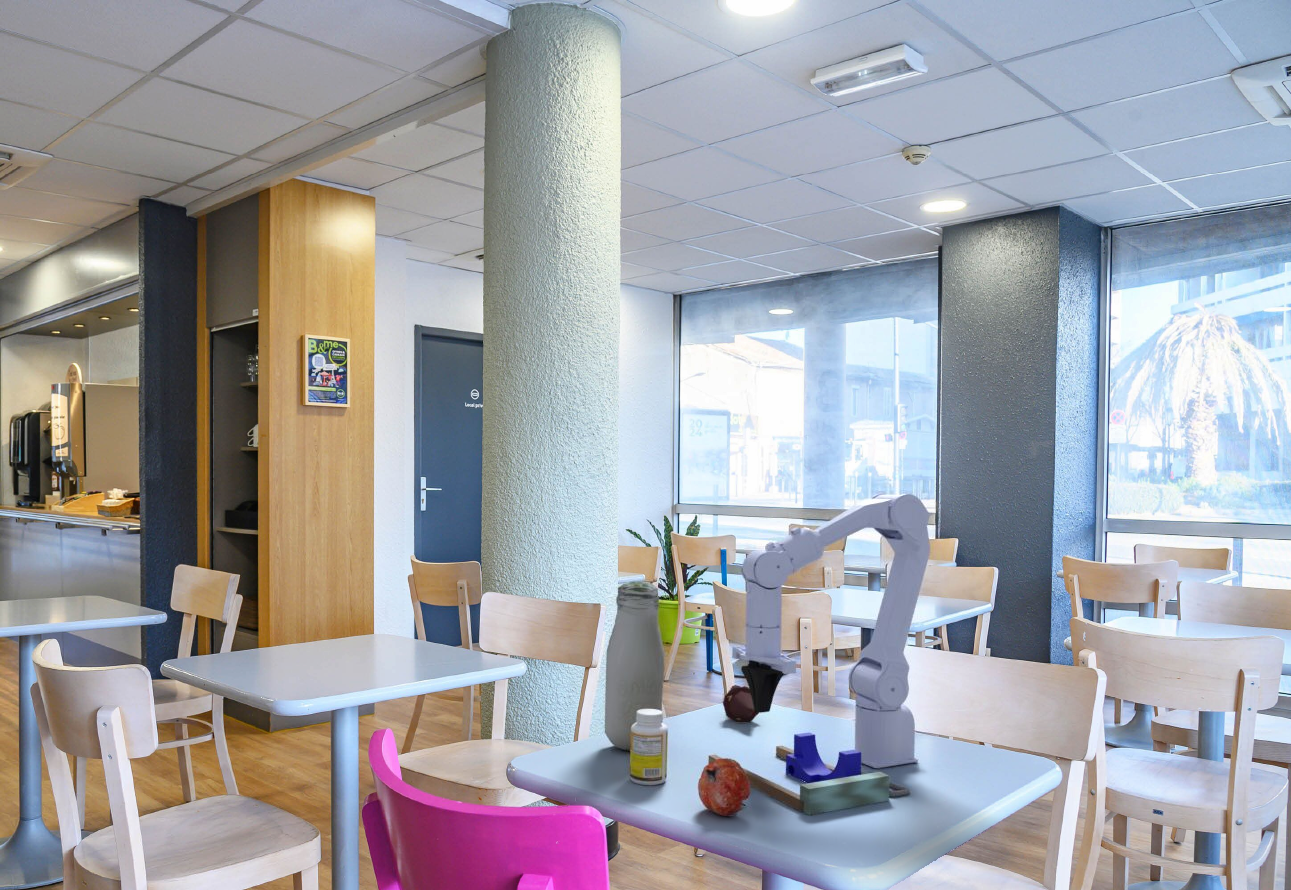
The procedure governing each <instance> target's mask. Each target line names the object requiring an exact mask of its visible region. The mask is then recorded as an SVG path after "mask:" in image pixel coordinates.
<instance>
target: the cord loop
mask: <svg viewBox="0 0 1291 890" xmlns="http://www.w3.org/2000/svg"><path fill="white" fill-rule="evenodd" d="M869 773H870V772H867V771H865V770H862V769H861V775H863V774H869ZM889 788H891V789H894V790H895V791H892V790H890V789H889V797H892V798H894V797H900V796H905V795H907V796H908V795H909V794H911V790H910V789H909V788H907V787H905V786H902V785H900V784H897V783H894V782H892V781H890V780H889Z"/></svg>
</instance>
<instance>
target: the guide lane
mask: <svg viewBox="0 0 1291 890" xmlns="http://www.w3.org/2000/svg"><path fill="white" fill-rule="evenodd" d="M775 748H776V749H775V756H776V755H777V756H776V757H779V756H780V757H779V758H781V757H782V758H781V759H783V758H784V759H783V760H785V761H786V755H789V754H794V749H792V748H789V747H787V746H784V745H777V746H776V747H775ZM717 759H723V757H721V756H719V755H717V754H710V755H708V760H707V761H708V764H712V763H714V762H715V760H717ZM823 763H824V764H825V765H826V767H827V768H829V769H830V770H831V771H833V770H834V769H835V767H836V766H832V765H830V764H828V763H826V762H823ZM708 764H707V765H708ZM742 768H743V767H742ZM743 770H744V771H745V773H746V775H747V776H748V779H749V783H750V787H751V786H752V787H751V788H753V789H755V788H756V789H755V790H757V789H758V791H759V790H760V792H761V793H763V792H764V793H763V794H765V793H766V794H765V795H767V794H768V795H767V796H769V795H770V797H771V796H772V798H773V797H774V799H775V798H776V800H777V801H779V800H780V802H781V801H782V802H781V803H783V802H784V803H783V804H785V805H787V804H788V805H787V806H789V807H791V806H792V807H791V808H794V809H795V808H796V809H795V810H797V809H798V810H797V811H799V810H800V812H801V813H803V812H804V813H803V814H805V813H806V815H808V816H812V815H817V814H818V813H819V814H824V813H831V812H834V811H838V810H839V811H841V810H847V809H850V808H856V807H861V806H866V805H867V806H868V805H871V804H872V805H873V804H877V803H883V802H887V801H888V802H889V801H890V796H889V790H890V787H889V781H890V775H888V774H886V773H884V772H881V771H875V772H871V773H870V772H868V773H869V774H863V775H857V776H851V777H845V778H838V779H832V780H826V781H820V782H814V783H803V784H802V783H801V784H799V794H798V793H797V792H794V791H792V790H790V789H788V788H786V787H784V786H782V785H780V784H778V783H775V782H773V781H772V780H769V779H767V778H765V777H763V776H761V775H759V774H757V773H754V772H753V771H750V770H749V769H747V768H743ZM823 812H824V813H823ZM811 814H812V815H811Z"/></svg>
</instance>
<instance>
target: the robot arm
mask: <svg viewBox="0 0 1291 890" xmlns="http://www.w3.org/2000/svg"><path fill="white" fill-rule="evenodd" d="M930 516H931V515H930V513H929V511H928V510H927V508H926V506H925V504H924V502H923V501H922V500H921V499H920V498H919V497H918V496H916V495H914V494H911V493H910V494H909V493H904V494H887V493H876V494H874V495H873V496H871V498H866V499H863V500H861V501H860V502H858V503H857V504H855V505H853V506H852V507H849V509H847V510H845V511H844V512H842V513H841V514H839V515H836V516H835V517H834V518H831V519H830V520H829V521H827V522H826V523H824V524H822V525H820V526H819V527H816V528H815V529H812V528H808V527H802V528H800V527H793V528H791V529H790V530H789V531H790V534H788V535H787V536H785V537H783V538H781V539H779V540H777V541H776V542H773V541H770V542H767V543H766V544H765V546H766V548H765V550H762V549H761V550H760V549H756V550H753V551H750V552H749V553H748V554H747V555H746V558H744V560H743V563H742V565H741V566H740V568H739V569H740V574H741V577H742V579H744V581H745V583H746V590H745V591H746V592H745V593H746V594H745V641H744V642H745V643H744V644H745V646H744V645H735V646H732V647H731V648H732V651H731V652H732V659H734V660H742V661H745V662H748V664H747V665H742V666H741V669H740V670H741V672H742V674H743V676H744V678H745V680H746V682H747V685H748V686H747V687H748V688H749V689H750V692H751V696H752V701H753V705H754V710H755V711H756V712H759V714H760V713H761V714H763V713H769V712H771V708H772V703H773V699H774V696H775V693H776V690H777V687H778V685H779V683H780V681H781V680H782V678H783V677H784V675H790V674H796V673H797V660H795V659H793V658H790V657H788V656H787V655H785V654H783V653H782V615H783V614H782V611H783V609H782V608H783V607H782V604H783V603H782V602H783V601H782V600H783V596H782V594H783V593H782V591H783V590H782V589H783V588H782V587H783V585H785V583H786V582H787V580H788V578H789V576H791V575H794V573H797V572H798V571H801V570H802V569H804V568H806V567H807V566H809V565H811V564H812V563H815V562H816V561H818V560H820V559H822V557H823V555H824V551H825V548H827V547H829V546H830V545H833V544H835V543H837V542H839V541H841V540H843V539H845V538H848V537H849V536H851V535H853V534H855V533H858V532H860V531H862V530H863V529H867V528H869V529H873V530H875V531H876V532H877V533H879V535H880V536H882V537H883V538H884V539H886V541H887V543H888V544H889V546H890V548H891V549H892V551H893V553H894V555H893V559H892V564H891V566H890V569H889V572H888V573H889V574H888V577H887V582H886V585H885V589H884V592H883V596H882V600H881V603H880V607H879V611H878V614H877V618H876V620H875V621H876V623H875V626H874V630H873V632H872V637H871V640H870V642H869V643H868V644H867V645H866V646H864V647H863V648H862V650H860V652H859V656H858V658H857V660H856V662H855V663H854V665H852V667H851V669H850V671H849V673H848V685H849V688H850V690H851V691H852V692H853V694H855V697H854V698H855V699H854V700H855V711H854V712H855V713H854V714H855V715H854V716H855V717H854V718H855V719H854V720H855V723H854V727H855V728H854V750H857V751H860V752H861V764H864V765H866V766H869V767H872V768H874V769H881V768H887V767H894V766H899V765H906V764H913V763H918V762H919V759H918V758H917V757H915V737H916V736H915V735H916V734H915V733H916V732H915V731H916V729H915V728H916V727H915V726H916V725H915V724H916V723H915V717H914V715H913V712H912V711H911V709H910V708H909V707H908V706H907V705H906V704H904V703H905V702H906V700H907V698H908V696H909V691H910V686H909V679H908V678H909V677H908V676H909V671H910V665H909V662H908V660H907V658H906V656H905V653H904V652H905V647H906V643H907V640H908V636H909V632H910V629H911V625H912V621H913V618H914V614H915V609H916V606H917V603H918V600H919V595H920V591H921V587H922V584H923V579H924V576H925V573H926V570H927V569H926V568H927V565H928V561H929V557H930V553H931V545H930V543H931V542H930V537H929V529H928V523H929V519H930Z"/></svg>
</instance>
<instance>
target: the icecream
mask: <svg viewBox="0 0 1291 890" xmlns="http://www.w3.org/2000/svg"><path fill="white" fill-rule="evenodd" d="M722 705H723V708H724V713H725V716H726V717H727V718H728V719H730V720H731V721H733V722H735V723H736V722H749V723H751V722H752V721H753V720H754V719H755V718H756V717H757V715H759V714H760V713H759V712H756V711H755V710H754V705H753V701H752V696H751V692H750V689H749V686H745V685H744V686H740V685H737V684H734V685H732V686H731V687H730V689H729V690H728V692H727V693H726V694H725V695H724V697H723V701H722Z"/></svg>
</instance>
